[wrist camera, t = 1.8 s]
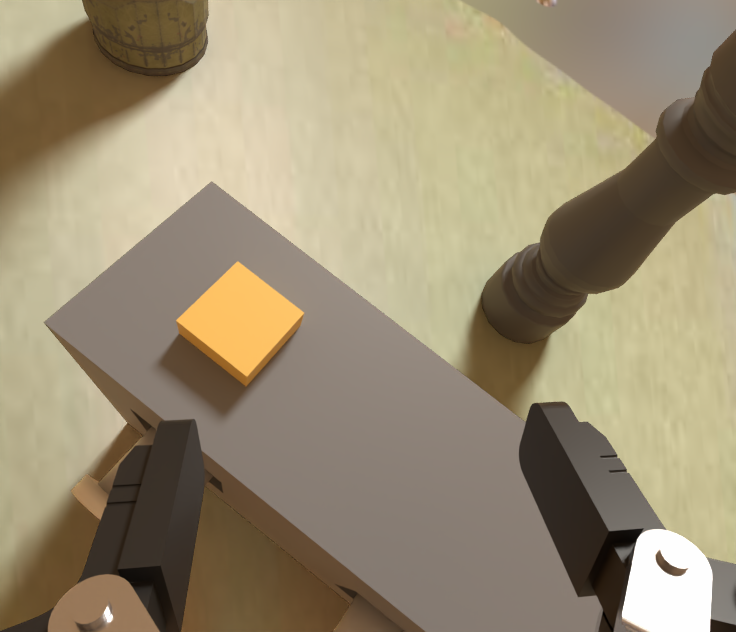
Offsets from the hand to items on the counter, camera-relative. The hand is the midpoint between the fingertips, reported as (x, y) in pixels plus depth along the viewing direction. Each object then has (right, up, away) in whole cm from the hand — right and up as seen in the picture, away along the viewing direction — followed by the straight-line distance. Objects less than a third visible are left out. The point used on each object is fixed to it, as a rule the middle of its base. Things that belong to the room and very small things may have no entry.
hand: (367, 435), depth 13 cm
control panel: (-3, -7, +20) cm, 22 cm away
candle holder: (+12, +4, +29) cm, 32 cm away
